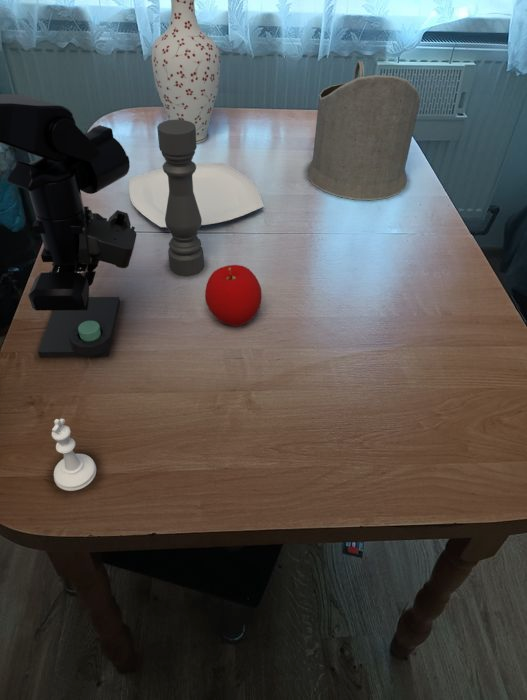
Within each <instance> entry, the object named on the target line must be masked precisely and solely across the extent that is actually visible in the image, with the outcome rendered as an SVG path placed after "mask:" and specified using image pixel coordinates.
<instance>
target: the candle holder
mask: <svg viewBox="0 0 527 700" xmlns="http://www.w3.org/2000/svg"><path fill="white" fill-rule="evenodd" d="M156 130H157V138H158V146H159V147H158V149H159V151H160V152H161V155H162V157H163V158H164V160H165V162H164V163H163V164H162V168H163V170H164V172H165V173H166V174H167V176H168V183H169V196H168V203H167V209H166V215H165V223H166V226H167V228H166V229H167V231H169V233H170V235H171V238H170V240H169V242H168V247H169V248H168V250H167V254H168V255H167V257H168V262H169V263H168V264H169V269H170V271H171V273H172V274H174V275H177V276H179V277H192V276H193V277H194V276H196V275H199V274H200V273H201V272H203V270H204V268H205V257H204V256H205V255H204V249H203V247H202V245H203V244H202V241H201V238H199V237H198V232H199V230H200V228H201V227H202V226H201V223H202V219H201V215H200V212H199V209H198V206H197V202H196V199H195V196H194V192H193V180H192V175H193V173H194V172H195V170H196V165H195V162H194V161H193V159H194V156H195V154H196V150H197V148H198V147H197V145H198V144H196V127H195V125H194V124H193V123H191V122H189V121H185V120H168V119H167V120H165V121H162V122H160V123H158V125H157V126H156Z"/></svg>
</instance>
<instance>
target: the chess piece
mask: <svg viewBox="0 0 527 700" xmlns="http://www.w3.org/2000/svg"><path fill="white" fill-rule="evenodd" d="M53 423H54V426H53V428H52V429H51V438H52V439H53V440H54V441H55V442H56V444H55V450H56V451H57V453H59V454H63V458H62V459H61V460H60V461H59V462H58V463H57V464H56V465H55V467H54V471H53V480H54V483H55V485H56V487H58V488H59V489H61V490H64V491H68V492H75V491H78V490H81V489H83V488H85V487H87V486H89V484H90V483H91V482H92V481H94V479H95V477H96V476H97V475H96V474H97V465H96V463H95V461H94V460H93V458H92V457H90V456H89V455H87V454H85V453H75V452H74V449H75V448H76V440H74V439H73V438H72V437H70V436H71V428H70V426H68V425H65V423H66V420H65V419H64V418H61V417H60V419H58V418H55V420H53Z"/></svg>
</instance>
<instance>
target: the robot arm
mask: <svg viewBox="0 0 527 700" xmlns="http://www.w3.org/2000/svg"><path fill="white" fill-rule="evenodd" d="M0 144H2V145H5V146H6V147H7V146H8V147H10V148H12V149H16V150H18V151H22V152H25V153H27V154H31V155H34V156H37V157H40V158H37V159H36V160H33V161H31V162H29V163H28V162H25V161H23V160H17V161H16V163H15V166H14V168H13V169H12V170H11V171H10V172H9V174H8V176H7V178H6V182H7V183H8V184H10V185H13V186H15V187H18V188H21V189H22V190H23V189H24V190H26V191H28V194H29V198H30V201H31V205H32V208H33V211H34V215H35V220H34V222H33V224H32V230H33V234H34V235H35V234H37V235H39V234H40V236H41V240H42V244H43V249H42V252H41V254H40V257H41V260H42V263H52V264H51V265H52V268H51V270H50V271H49V272H40V273H39V274H38V275H37V276H36V277H35V279H34V281H33V283H32V286H31V288H30V290H29V292H28V300H29V302H30V304H31V308H32V309H33V310H34V311H36V312H37V311H53V310H87V309H88V303H89V297H90V287H91V286H92V285H93V283H94V281H95V276H96V273H97V271H96V269H97V268H98V266H99V263H100V262H103V263H107V264H110V265H113V266H115V267H117V268H118V269H119V268H120V269H127V268H128V267H129V265H130V262H131V258H132V254H133V251H134V248H135V243H136V239H137V232H136V231H135V229H136V227H135V226H133V225H132V224H131V220H130V217H129V214H128V213H127V212H125V211H122V210H119V209H116V211H115V212H114V213H112V215H110V216H109V218H106V217H103V216H102V215H101V214H99V213H98V212H93V211H92V209H90V207H89V206H84V201H83V196H82V192H83V193H85V194H89V195H93V194H96V193H98V192H99V191H101V190H103V189H105V188H106V187H108V186H110V185H112V184H113V183H116V182H117V181H119V180H121V179H122V178H124V177H126V176H127V175H128V173H129V172H130V165H131V164H130V163H131V161H130V157H129V156H128V155H127V152H126V150H125V148H124V147H123V145H122V144H121V143H120V142H119V141H118V140H117V139H116V138H115V137H114V133H113V129H112V128H111V127H109V126H105V125H101V124H98V125H96V126H94V127H93V128H91V129H90V130H89V131H87V132H85V133H84V132H83V131H82V130H81V129H80V128H79V127H78V126H77V124H76V120H75V118H74V115H73V112H72V110H70V109H69V108H68V107H66V106H63V105H60V104H57V103H54V102H50V101H46V100H43V99H39V98H36V97H32V96H28V95H25V94H20V93H19V94H18V93H16V94H15V93H9V94H8V93H0Z"/></svg>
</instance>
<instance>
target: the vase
mask: <svg viewBox="0 0 527 700" xmlns="http://www.w3.org/2000/svg"><path fill="white" fill-rule="evenodd" d="M170 2H171V3H170V5H171V6H170V7H171V13H170V14H171V15H170V20H169V24H168V26H167V28H166V30H165V31H164V32H163V33H162V34H160V35H159V36H158V37H157V38H156V39H155V40H154V42H153V44H152V46H151V61H150V62H151V67H152V73H153V79H154V85H155V88H156V89H155V90H156V91H157V95H158V96H159V99H160V102H161V104H162V107H163V109H164V112H165V115H166V117H167V121H168V120H185V121H189V122H191V123H193V124H194V125H195V127H196V145H198V144H201V143H203V142H205V141H206V140H207V138H208V136H207V134H208V129H209V126H210V121H211V118H212V115H213V111H214V107H215V103H216V99H217V96H218V93H219V88H220V77H221V76H220V75H221V57H220V49H219V48H218V45H217V44H216V42H215V40H214V39H213V38H212V37H210V35H208V34H206V33H205V32H204V31H203V30H202V29H201V28H200V25H199V23H198V20H197V16H196V9H195V8H196V7H195V0H170Z"/></svg>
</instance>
